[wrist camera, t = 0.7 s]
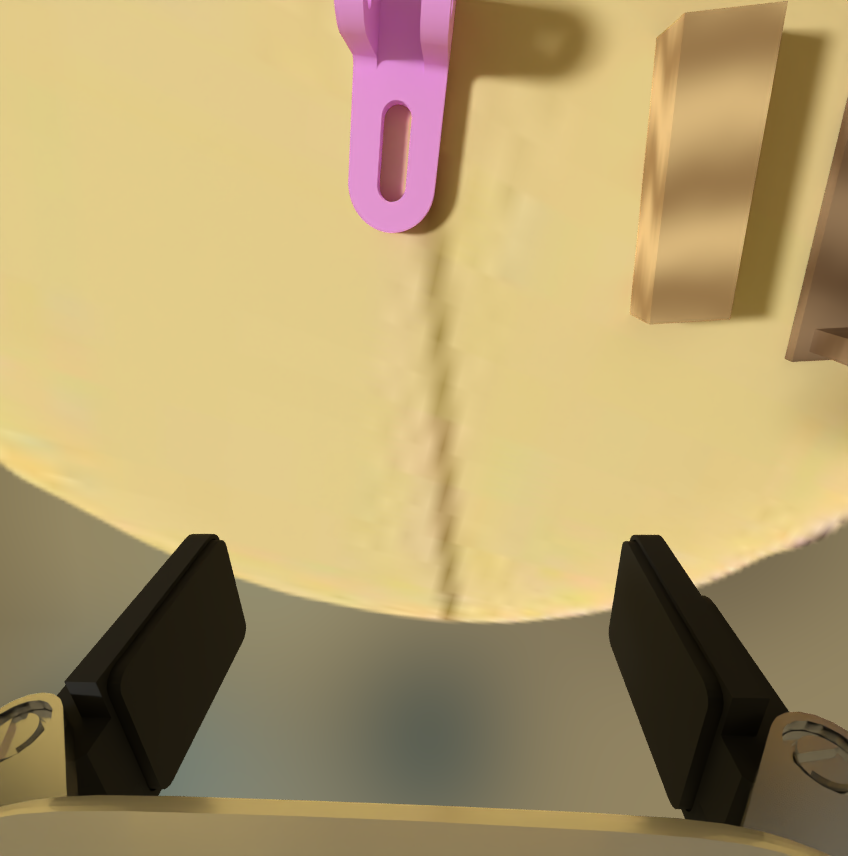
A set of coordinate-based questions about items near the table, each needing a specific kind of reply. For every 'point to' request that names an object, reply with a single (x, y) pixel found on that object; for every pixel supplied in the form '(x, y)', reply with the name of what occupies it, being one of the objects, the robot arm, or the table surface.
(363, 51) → the bracket
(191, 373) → the table surface
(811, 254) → the holder
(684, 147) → the plank
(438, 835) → the robot arm
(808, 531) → the table surface
